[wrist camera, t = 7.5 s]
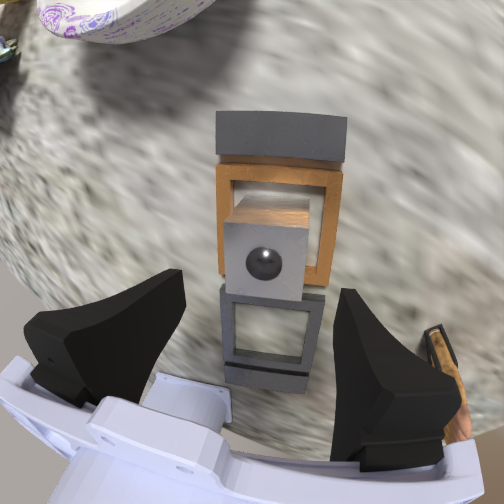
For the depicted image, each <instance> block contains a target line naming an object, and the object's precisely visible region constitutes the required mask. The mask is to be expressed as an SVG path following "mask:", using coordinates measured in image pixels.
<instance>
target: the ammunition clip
mask: <svg viewBox="0 0 504 504" xmlns="http://www.w3.org/2000/svg"><path fill="white" fill-rule="evenodd" d="M424 332H425V338H426V346H427V354H428V363H429V364H430V365H431V366H433V367H434V368H436V369H438V370H440V371H442V372H444V373H446V374H448V375H450V376H452V377H454V378H455V380H456V382H457V385H458V388H459V391H460V394H461V397H462V404H461V407H460V409H459V410H458V412H457V413H456V415H455V416H454V417H453V418H452V419H451V420H450V422H449V423H448V424H447V425H446V426H445V427H444V433H445V437H444V440H445V442H446V444H447V445H448V444H450V443H454V442H459V441H464V440H468V439H469V438H470V435H471V418H470V413H469V409H468V404H467V400H466V395H465V388H464V385H463V382H462V380H461V377H460V374H459V371H458V362H457V359H456V357H455V354H454V352H453V349H452V347H451V344H450V342H449V340H448V337H447V335H446V333H445V331H444V328H443V326H442V324H440V325H437V326H435V327H432V328H430V329H427V330H425V331H424Z"/></svg>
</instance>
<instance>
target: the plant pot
mask: <svg viewBox="0 0 504 504" xmlns="http://www.w3.org/2000/svg"><path fill="white" fill-rule="evenodd" d="M18 1H20V0H0V4H5V3H12V2H18Z"/></svg>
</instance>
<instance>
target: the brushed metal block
mask: <svg viewBox="0 0 504 504" xmlns="http://www.w3.org/2000/svg"><path fill="white" fill-rule="evenodd" d="M309 210H310V199H307V198H295V197H282V196H267V195H250V194H247V195H246V196H245V197H244V198H243V199H242V200H241V202H240V203H239V204H238V205H237V206H236V207H235V209H234V210H233V211H232V212H231V213H230V214H229V216H228V217H227V218H226V219H225V220H224V221H223V235H224V262H225V285H226V293H230V294H238V295H246V296H254V297H263V298H272V299H281V300H291V301H301V299H302V291H303V282H304V273H305V264H306V254H307V244H308V233H309Z"/></svg>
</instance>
